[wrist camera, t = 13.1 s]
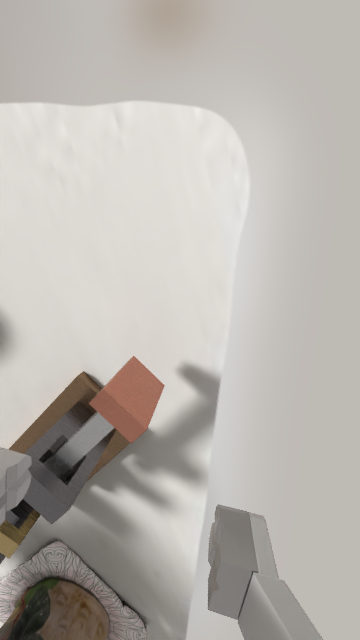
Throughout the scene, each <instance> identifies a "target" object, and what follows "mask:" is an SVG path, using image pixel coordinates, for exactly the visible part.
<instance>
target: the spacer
mask: <svg viewBox="0 0 360 640" xmlns="http://www.w3.org/2000/svg"><path fill="white" fill-rule="evenodd" d="M40 515H41V514H39V513H38V512H37V511H36V510H35V509H34V510H33V511H32V512H31V514H30V515H29V516H28V518H27V519H26V520H25V522H24V523H23V524H22V526H21V527H20V528H19V529H18V528H16V527H15V526H13V525H12V524H11V523H9V522H8V521H6V520H5V521H4V522H3V523H2V524H1V525H0V553H2V554H3V555H5V556H6V557H7V558H10V557H11V556H12V554H13V553H14V552H15V550H16V549H17V547H18V546H19V545H20V543H21V542H22V540H23V539H24V538H25V536H26V535H27V533H28V532H29V530H30V529H31V528H32V526H33V525H34V523H35V522H36V520H37V519H38V518H39V516H40Z"/></svg>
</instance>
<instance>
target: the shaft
mask: <svg viewBox="0 0 360 640" xmlns="http://www.w3.org/2000/svg"><path fill="white" fill-rule="evenodd" d="M164 386H165V385H164V384H163V383H161V382H160V381H159V380H158V379H157V378H156V377H155V376H154V375H153V374H152V373H151V372H150V371H149V370H148V369H147V368H146V367H145V366H144V365H143V364H142V363H141V362H140V361H139V360H138V359H137V358H136V357H134V356H133V357H132V358H131V359H130V360H129V361H128V362H127V363H126V364H125V365H124V366H123V367H122V368H121V369H120V370H119V371H118V373H117V374H116V375H115V376H114V377H113V378H112V379H111V380H110V381H109V382H108V383H107V384H106V385H105V386H104V388H103V389H102V390H101V391H100V392H99V393H98V394H97V395H96V396H95V397H94V398H93V399H92V400H91V402H90V403H89V404H90V405H91V406H92V407H93V408H94V409H95V410H96V411H97V412H96V413H95V414H94V415H93V416H92V417H91V418H90V419H89V420H88V421H87V422H86V423H85V424H84V425H83V426H82V427H81V428H80V429H79V430H78V431H77V432H75V433H74V434H73V435H72V436H71V437H70V438H69V439H68V440H67V441H66V442H65V443H64V444H63V445H62V446H61V447H60V448H59V449H58V450H57V451H56V452H55V453H54V454H53V455H52V456H51V457H50V458H49V459H48V460H47V461H46V462H45V463H44V465H45V466H46V467H47V468H48V469H49V470H50V471H51V472H52V473H53V474H55V475H56V476H57V477H58V478H59V479H60V478H61V477H62V476H63V475H64V474H65V473H66V472H67V471H68V470H69V469H70V468H72V467H73V466H74V465H75V464H76V463H77V462H78V461H79V460H80V459H81V458H82V457H83V456H85V455H86V454H87V453H88V452H89V451H90V450H91V449H92V448H93V447H94V446H95V445H96V444H97V443H99V442H100V441H101V440H102V439H103V438H104V437H105V436H106V435H107V434H108V433H109V432H110V431H111V430H113V429H114V428H115V429H116V430H118V431H119V432H120V433H121V434H122V435H123V436H124V437H125V438H126V439H127V440H128V441H129V442H130V443H132V442H134V441H135V440H136V439H137V438H138V437H139V436H140V435H142V434H143V433H144V432H145V431H146V430H147V428H148V426H149V423H150V421H151V418H152V416H153V413H154V411H155V408H156V406H157V403H158V401H159V398H160V396H161V393H162V391H163V388H164Z"/></svg>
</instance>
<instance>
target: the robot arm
mask: <svg viewBox="0 0 360 640" xmlns="http://www.w3.org/2000/svg"><path fill="white" fill-rule="evenodd" d="M31 465H32V462H31V456H28V455H25V454H22V453H18V452H15V451H12V450H8V449H5V448H1V447H0V525H1V524H2V523H3V522H4V521H5V518H6V512H7V511H9V510H11V509H13V508H14V507H16V506H17V505H18V504H19V503H20V501H21V500H22V499H23V498H24V496H25V494H26V492H27V490H28V488H29V485H30V482H31V474H30V472H29V470H28V468H29V467H30V466H31ZM208 561H209V563H210V566H211V570H210V574H209V578H208V610H210V611H213V612H216V613H219V614H222V615H225V616H228V617H231V618H234V619H237V620H238V624H239V626H240V629H241V632H242V634H243V637H244V639H245V640H323V639H322V637H321V636H320V634H319V633H318V631H317V630H316V628H315V627H314V625H313V624H312V622H311V621H310V619H309V618H308V616H307V615H306V613H305V611H304V610H303V609H302V607H301V606H300V604H299V603H298V601H297V599H296V598H295V596H294V595H293V593H292V592H291V590H290V589H289V587H288V586H287V584H286V583H285V581H283V580H280V579H279V578H278V573H277V569H276V564H275V560H274V555H273V551H272V547H271V542H270V538H269V533H268V529H267V525H266V520H265V518H264V517H263V516H261V515H257V514H253V513H250V512H247V511H243V510H239V509H234V508H230V507H226V506H222V505H217V507H216V511H215V522H214V523H213V524H212V527H211V531H210V538H209V551H208Z"/></svg>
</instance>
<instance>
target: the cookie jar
mask: <svg viewBox="0 0 360 640" xmlns="http://www.w3.org/2000/svg"><path fill="white" fill-rule="evenodd" d="M0 621H1V622H2V623H4V625H3V626H2V627H1V628H0V640H143V639H145V638H147V631H146V626H144V624H143V622H142V620H141V619H140V617H139V616H138V615H137V614H136V613H135V612H134V611H133V610H131V609H130V608H129V607H127V606H126V605H124V604H123V603H122V601H121V600H120V599H119V597H118V596H117V595H116V594H115V593H114V592H113V591H112V590H111V589H110V588H109V587H108V586H107V585H106V584H105V583H104V582H103V581H102V580H101V579H100V578H99V577H98V576H97V575H96V574H95V573H94V572H93V571H92V570H91V569H89V568H88V567H87V566H86V565H85V564H84V563H83V561H82V560H81V559H80V558H79V557H78V556H77V555H76V554H75V553H74V552H73V551H72V550H71V549H70V548H69V547H67V546H66V545H65V544H63V543H62V542H59V541H56V542H54V543H52V544H50V545H48V546H47V547H45V548H43V549H42V550H40V551H39V553H37V554H36V555H35V556H33V557H32V559H31V560H29V561H28V562H26V563H23V564H21V565H20V566H19V567H18V568H17V569H15V570H14V571H13V572H11V573H10V574H9V575H8V576H6V577H5V578H4V579H3V580H1V581H0Z"/></svg>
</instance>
